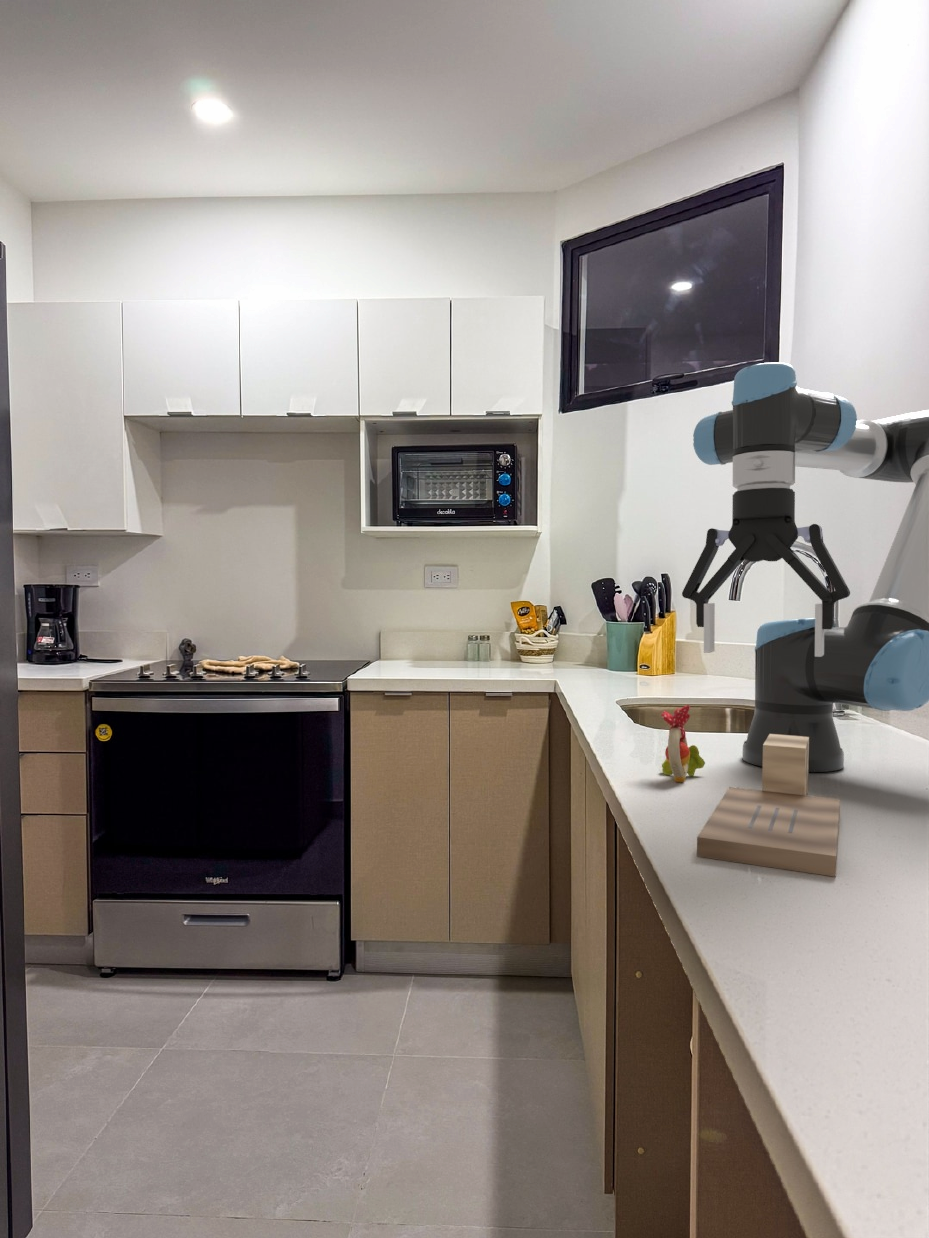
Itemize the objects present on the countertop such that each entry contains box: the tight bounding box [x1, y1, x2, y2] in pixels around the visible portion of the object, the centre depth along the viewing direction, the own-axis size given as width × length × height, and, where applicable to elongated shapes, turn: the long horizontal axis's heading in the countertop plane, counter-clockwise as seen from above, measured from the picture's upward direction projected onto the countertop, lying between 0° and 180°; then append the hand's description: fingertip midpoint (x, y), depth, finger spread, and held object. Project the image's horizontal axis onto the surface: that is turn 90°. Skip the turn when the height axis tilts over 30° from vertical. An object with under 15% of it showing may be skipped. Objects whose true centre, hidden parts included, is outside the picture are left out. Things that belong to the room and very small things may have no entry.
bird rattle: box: [660, 704, 706, 783], centre depth 117 cm, size 6×11×9 cm
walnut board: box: [696, 786, 841, 878], centre depth 90 cm, size 24×13×2 cm, turn 154°
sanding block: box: [761, 734, 809, 796], centre depth 105 cm, size 9×5×8 cm, turn 154°
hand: (762, 654), depth 104 cm, fingers open, 13 cm apart
